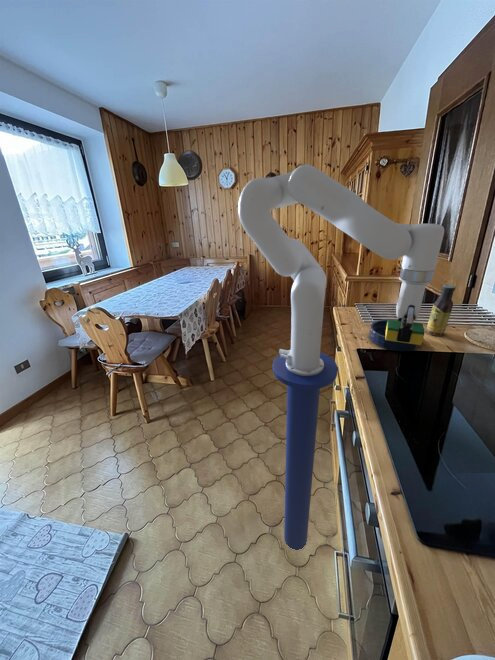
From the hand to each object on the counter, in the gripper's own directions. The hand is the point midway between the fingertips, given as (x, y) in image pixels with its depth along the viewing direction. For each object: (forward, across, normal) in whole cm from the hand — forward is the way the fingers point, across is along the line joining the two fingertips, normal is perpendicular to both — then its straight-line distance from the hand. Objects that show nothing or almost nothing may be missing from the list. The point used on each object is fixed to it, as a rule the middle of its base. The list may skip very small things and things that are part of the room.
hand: (402, 335), depth 81 cm
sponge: (+1, 0, 0) cm, 1 cm away
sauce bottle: (+15, -38, +15) cm, 44 cm away
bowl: (+15, -26, 0) cm, 30 cm away
